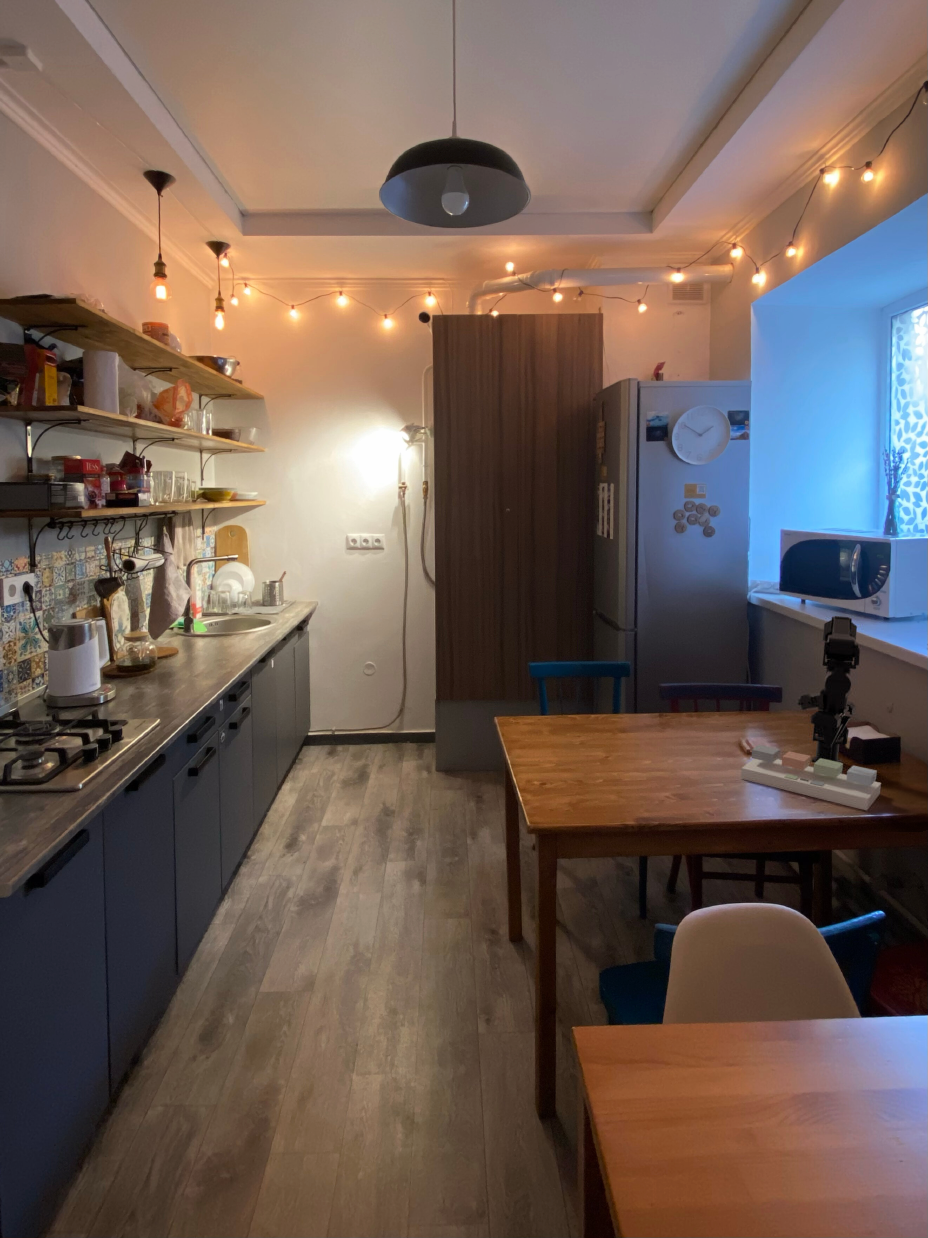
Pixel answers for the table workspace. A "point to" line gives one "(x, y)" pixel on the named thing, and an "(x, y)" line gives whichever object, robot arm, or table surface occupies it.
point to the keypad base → (811, 783)
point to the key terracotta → (796, 760)
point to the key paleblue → (861, 775)
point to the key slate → (765, 753)
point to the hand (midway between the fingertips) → (830, 745)
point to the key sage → (828, 767)
